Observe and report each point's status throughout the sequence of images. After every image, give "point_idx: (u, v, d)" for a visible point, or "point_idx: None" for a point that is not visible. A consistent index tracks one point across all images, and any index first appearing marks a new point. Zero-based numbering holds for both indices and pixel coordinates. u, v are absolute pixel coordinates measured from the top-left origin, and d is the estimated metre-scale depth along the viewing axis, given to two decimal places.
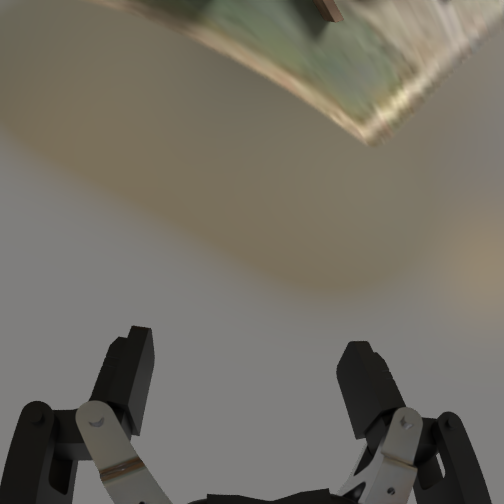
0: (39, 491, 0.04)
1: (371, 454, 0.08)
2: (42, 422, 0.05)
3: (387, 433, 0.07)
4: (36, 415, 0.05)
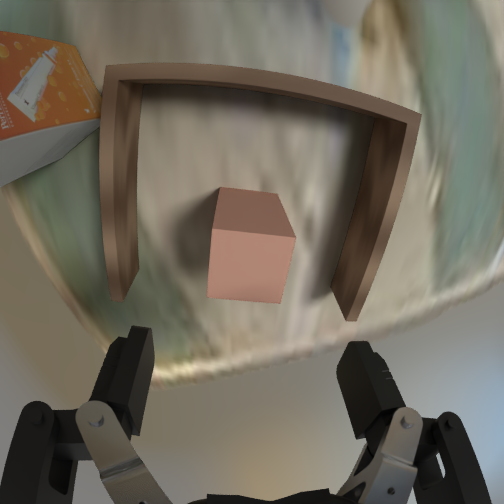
0: (39, 491, 0.04)
1: (371, 454, 0.08)
2: (42, 422, 0.05)
3: (387, 433, 0.07)
4: (35, 416, 0.05)
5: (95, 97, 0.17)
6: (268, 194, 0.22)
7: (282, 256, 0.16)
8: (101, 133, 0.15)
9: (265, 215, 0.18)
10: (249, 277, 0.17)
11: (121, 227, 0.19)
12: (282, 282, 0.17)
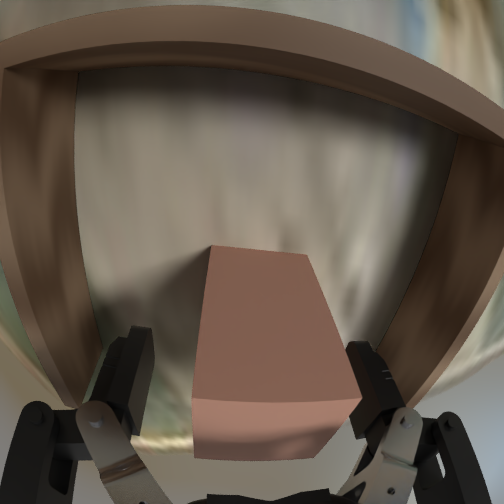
0: (39, 491, 0.04)
1: (371, 454, 0.08)
2: (42, 422, 0.05)
3: (387, 433, 0.07)
4: (36, 416, 0.05)
5: None
6: (293, 257, 0.13)
7: (330, 420, 0.07)
8: None
9: (297, 327, 0.09)
10: (266, 444, 0.08)
11: (54, 320, 0.10)
12: (322, 442, 0.08)
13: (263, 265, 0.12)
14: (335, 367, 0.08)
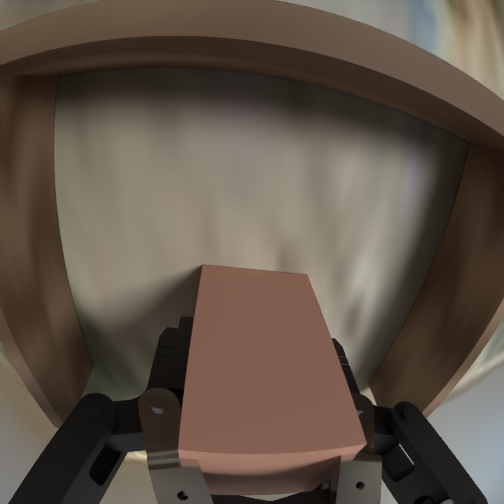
0: (76, 480, 0.04)
1: None
2: (102, 414, 0.06)
3: None
4: (95, 408, 0.06)
5: None
6: (292, 278, 0.12)
7: (331, 463, 0.06)
8: None
9: (297, 363, 0.08)
10: (262, 483, 0.07)
11: (37, 344, 0.09)
12: None
13: (259, 288, 0.11)
14: (338, 409, 0.07)
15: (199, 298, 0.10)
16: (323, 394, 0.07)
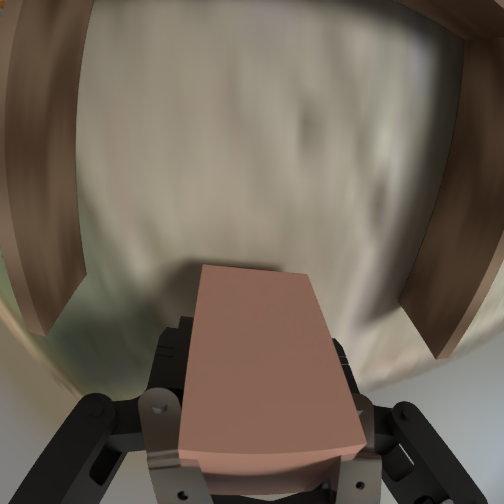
0: (76, 480, 0.04)
1: None
2: (102, 414, 0.06)
3: None
4: (95, 408, 0.06)
5: None
6: (292, 278, 0.12)
7: (332, 463, 0.06)
8: (4, 11, 0.04)
9: (297, 363, 0.08)
10: (262, 483, 0.07)
11: (28, 194, 0.08)
12: None
13: (259, 288, 0.11)
14: (338, 409, 0.07)
15: (199, 298, 0.10)
16: (323, 394, 0.07)
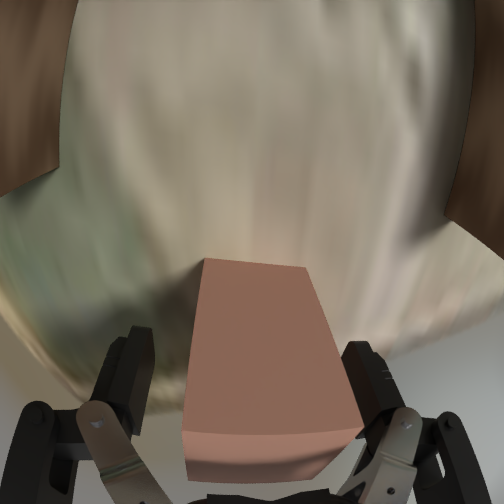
0: (39, 491, 0.04)
1: (371, 454, 0.08)
2: (43, 422, 0.05)
3: (387, 433, 0.07)
4: (36, 416, 0.05)
5: None
6: (291, 271, 0.13)
7: (330, 448, 0.07)
8: None
9: (296, 350, 0.08)
10: (263, 469, 0.07)
11: (14, 22, 0.04)
12: (321, 466, 0.07)
13: (259, 280, 0.12)
14: (336, 394, 0.07)
15: (201, 289, 0.10)
16: (321, 379, 0.07)
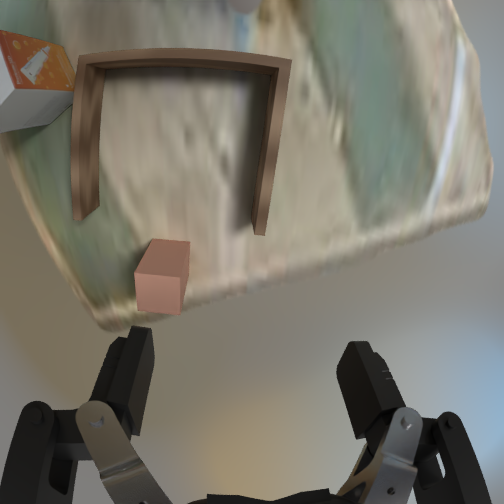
0: (39, 491, 0.04)
1: (371, 454, 0.08)
2: (42, 422, 0.05)
3: (387, 433, 0.07)
4: (35, 416, 0.05)
5: (74, 79, 0.23)
6: (183, 242, 0.33)
7: (174, 287, 0.27)
8: (74, 97, 0.21)
9: (170, 261, 0.29)
10: (158, 299, 0.27)
11: (84, 163, 0.25)
12: (178, 302, 0.28)
13: (169, 245, 0.32)
14: (176, 270, 0.28)
15: (148, 247, 0.31)
16: (174, 267, 0.28)
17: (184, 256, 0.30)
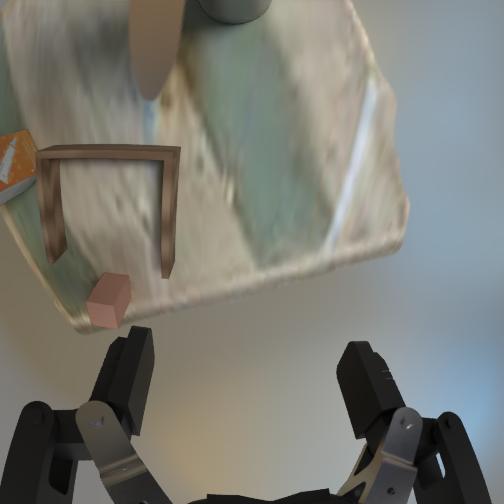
0: (39, 491, 0.04)
1: (371, 454, 0.08)
2: (42, 422, 0.05)
3: (387, 433, 0.07)
4: (35, 416, 0.05)
5: None
6: (124, 276, 0.43)
7: (111, 312, 0.37)
8: (37, 182, 0.31)
9: (111, 292, 0.39)
10: (102, 318, 0.38)
11: (50, 225, 0.35)
12: (114, 321, 0.38)
13: (114, 278, 0.42)
14: (112, 300, 0.38)
15: (99, 280, 0.41)
16: (111, 298, 0.38)
17: (121, 288, 0.41)
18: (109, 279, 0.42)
